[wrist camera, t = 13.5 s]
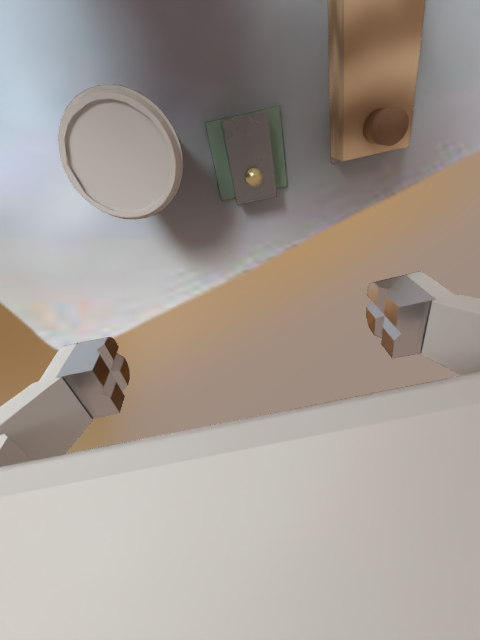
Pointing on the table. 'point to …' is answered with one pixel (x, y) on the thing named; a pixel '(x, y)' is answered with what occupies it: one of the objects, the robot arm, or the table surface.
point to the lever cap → (250, 157)
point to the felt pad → (222, 160)
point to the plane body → (372, 74)
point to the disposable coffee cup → (120, 152)
